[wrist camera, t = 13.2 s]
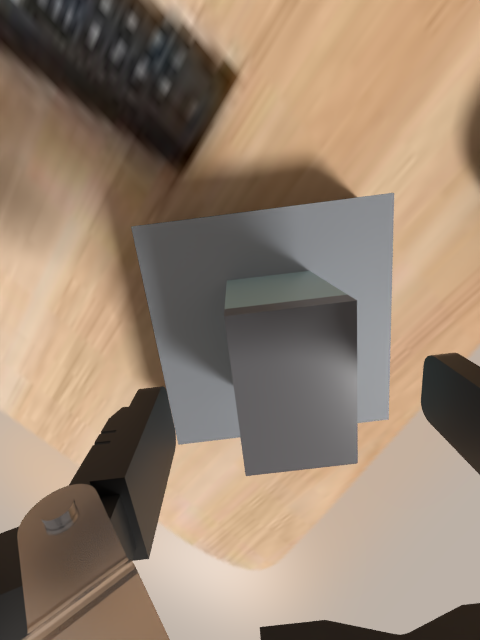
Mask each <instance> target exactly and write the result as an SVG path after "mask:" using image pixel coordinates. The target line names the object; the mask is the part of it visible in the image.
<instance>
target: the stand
mask: <svg viewBox="0 0 480 640" xmlns="http://www.w3.org/2000/svg"><path fill="white" fill-rule="evenodd" d="M393 216H394V193H389V194H381V195H373V196H365V197H357V198H350V199H342V200H334V201H326V202H319V203H311V204H303V205H295V206H288V207H280V208H272V209H264V210H257V211H249V212H241V213H233V214H225V215H218V216H210V217H202V218H194V219H187V220H179V221H171V222H163V223H156V224H148V225H140V226H132V227H131V229H132V233H133V238H134V242H135V247H136V252H137V256H138V261H139V265H140V270H141V275H142V279H143V284H144V288H145V293H146V297H147V302H148V307H149V311H150V316H151V320H152V325H153V330H154V334H155V339H156V343H157V348H158V352H159V357H160V362H161V366H162V371H163V375H164V380H165V385H166V389H167V394H168V398H169V403H170V407H171V412H172V417H173V421H174V426H175V430H176V435H177V440H178V444H188V443H196V442H204V441H212V440H221V439H229V438H237V437H240V430H239V422H238V415H237V408H236V400H235V393H234V386H233V378H232V371H231V364H230V357H229V349H228V342H227V335H226V327H225V320H224V310H225V297H226V285H227V280H236V279H244V278H252V277H261V276H269V275H277V274H286V273H294V272H303V271H311V272H312V273H314V274H315V275H317V276H319V277H320V278H322V279H323V280H325V281H327V282H328V283H330V284H331V285H333V286H335V287H336V288H338V289H339V290H341V291H343V292H344V293H346V294H348V295H349V296H351V297H352V298H354V299H356V300H357V423H362V422H370V421H379V420H387V419H389V380H390V339H391V298H392V257H393Z"/></svg>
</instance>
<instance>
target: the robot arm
mask: <svg viewBox="0 0 480 640" xmlns="http://www.w3.org/2000/svg"><path fill="white" fill-rule="evenodd" d="M421 406H422V410H423V413H424V415H425V417H426V419H427V420H428V421H429V422H430V424H431V425H432V426H433V427H434V428H435V429H436V430H437V431H438V432H439V433H440V434H441V435H442V436H443V437H444V438H445V439H446V440H447V441H448V442H449V443H450V444H451V445H452V446H453V447H454V448H455V449H456V450H457V451H458V453H459V454H460V455H461V456H462V457H463V458H464V459H465V460H466V461H467V462H468V463H469V464H470V465H471V466H472V467H473V468H474V469H475V470H476V471H477V472H478V473H479V474H480V367H479V366H478V365H476V364H474V363H473V362H471V361H469V360H468V359H466V358H465V357H463V356H461V355H460V354H458V353H448V354H440V355H431V356H428V357H427V358H426V359H425V361H424V368H423V381H422V394H421ZM175 445H176V434H175V427H174V423H173V418H172V413H171V409H170V404H169V400H168V395H167V391H166V389H165V387H163V386H162V387H153V388H145V389H139V390H138V391H137V393H136V395H135V397H134V399H133V400H132V402H131V404H130V406H129V407H122V408H121V409H120V410H119V411H117V412H116V413H115V414H114V415H113V416H112V417H111V418H109V419H108V421H107V423H106V424H105V426H104V428H103V429H102V431H101V434H99V436H98V438H97V439H96V441H95V445H93V446H92V448H91V449H90V451H89V453H88V454H87V456H86V458H85V459H84V461H83V463H82V464H81V466H80V468H79V469H78V471H77V473H76V474H75V476H74V478H73V479H72V481H71V483H70V484H69V486H66V487H63V488H61V489H58V490H56V491H54V492H52V493H51V494H49V495H47V496H46V497H45V498H43V499H42V500H40V501H39V502H38V503H37V504H36V505H35V506H34V507H33V508H32V509H31V510H30V511H29V512H28V513H27V515H26V516H25V517H24V519H23V520H22V522H21V524H20V526H19V527H17V528H14V529H11V530H9V531H6V532H4V533H1V534H0V640H170V639H169V637H168V635H167V633H166V631H165V629H164V627H163V624H162V622H161V620H160V618H159V616H158V614H157V612H156V610H155V607H154V605H153V603H152V601H151V599H150V597H149V595H148V593H147V590H146V588H145V586H144V584H143V582H142V580H141V578H140V576H139V574H138V572H137V569H136V567H135V565H134V563H133V562H132V561H133V560H142V559H149V556H150V552H151V548H152V543H153V539H154V535H155V530H156V527H157V523H158V518H159V514H160V510H161V506H162V502H163V498H164V493H165V489H166V485H167V481H168V477H169V473H170V468H171V464H172V460H173V456H174V452H175ZM260 635H261V640H480V603H477V604H468V605H461V606H460V607H458V608H455V609H454V610H452V611H450V612H448V613H446V614H444V615H442V616H440V617H438V618H436V619H435V620H433V621H431V622H429V623H427V624H425V625H423V626H421V627H419V628H417V629H415V630H413V631H412V632H410V633H407V634H403V635H397V634H391V633H386V632H381V631H376V630H372V629H367V628H361V627H356V626H352V625H347V624H342V623H337V622H332V621H327V620H321V621H312V622H303V623H294V624H284V625H275V626H266V627H260Z"/></svg>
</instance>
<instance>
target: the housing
mask: <svg viewBox="0 0 480 640" xmlns="http://www.w3.org/2000/svg"><path fill="white" fill-rule="evenodd" d="M224 320H225V327H226V335H227V342H228V349H229V357H230V364H231V371H232V378H233V386H234V393H235V400H236V408H237V415H238V422H239V430H240V437H241V444H242V451H243V459H244V466H245V473H246V476H250V475H259V474H268V473H277V472H286V471H295V470H303V469H312V468H321V467H330V466H339V465H348V464H356V463H358V450H357V300H356V299H354V298H352V297H351V296H349V295H348V294H346V293H344V292H343V291H341V290H339V289H338V288H336V287H335V286H333V285H331V284H330V283H328V282H327V281H325V280H323V279H322V278H320V277H319V276H317V275H315V274H314V273H312V272H311V271H303V272H294V273H286V274H277V275H269V276H261V277H252V278H244V279H236V280H227V285H226V297H225V310H224Z"/></svg>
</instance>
